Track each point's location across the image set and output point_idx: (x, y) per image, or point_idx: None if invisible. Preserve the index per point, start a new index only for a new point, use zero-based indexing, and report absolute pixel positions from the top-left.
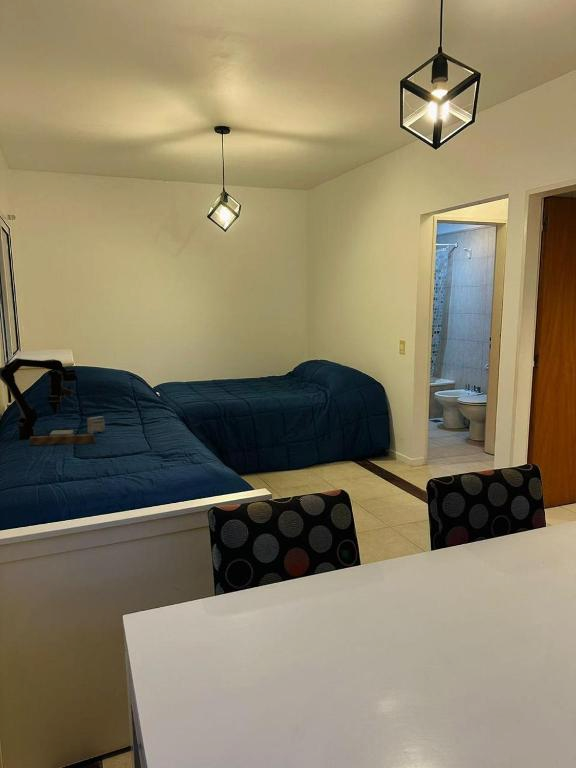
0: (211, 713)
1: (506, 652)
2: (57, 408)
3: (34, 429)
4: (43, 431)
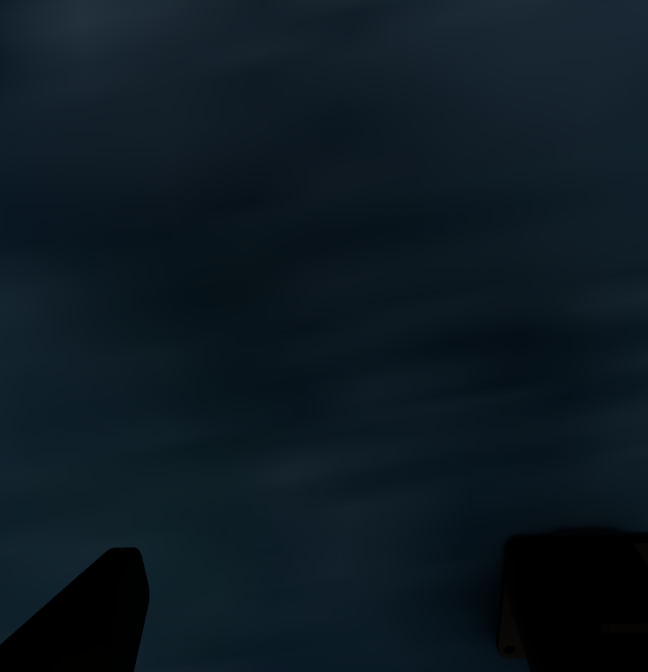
0: None
1: None
2: (127, 638)
3: (605, 608)
4: (231, 489)
